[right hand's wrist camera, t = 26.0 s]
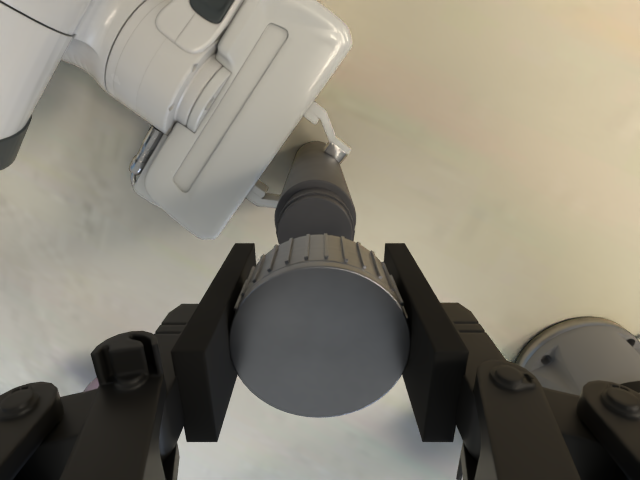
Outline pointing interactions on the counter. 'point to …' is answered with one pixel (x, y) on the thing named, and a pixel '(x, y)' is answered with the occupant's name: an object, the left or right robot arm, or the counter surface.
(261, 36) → the left robot arm
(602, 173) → the counter surface
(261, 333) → the lid
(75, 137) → the counter surface
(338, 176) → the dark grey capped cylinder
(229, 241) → the counter surface
